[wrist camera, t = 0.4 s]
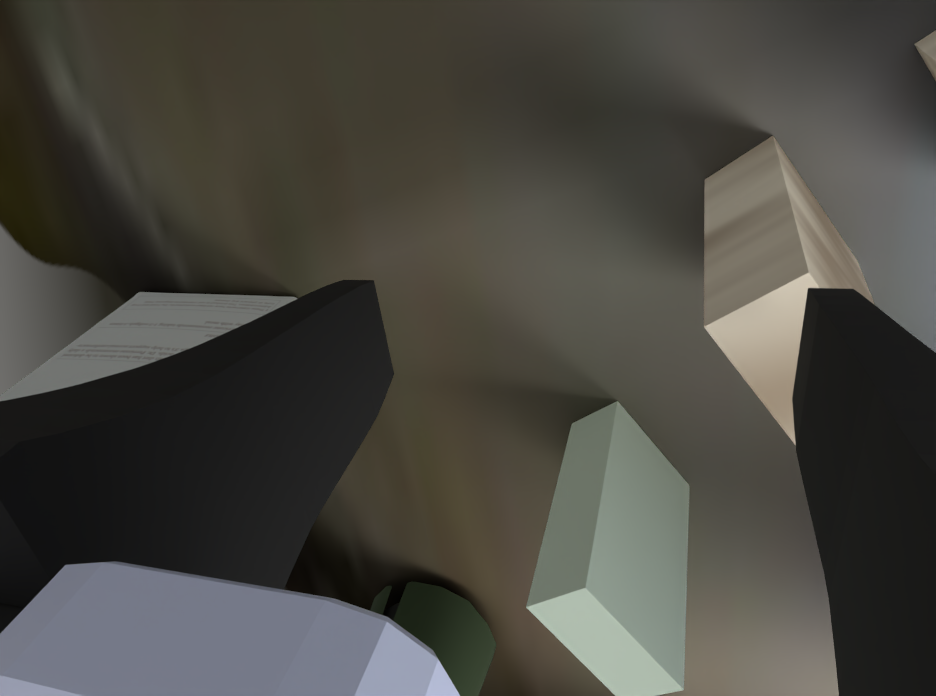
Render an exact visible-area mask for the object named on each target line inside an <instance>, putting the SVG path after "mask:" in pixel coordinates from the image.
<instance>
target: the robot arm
mask: <svg viewBox="0 0 936 696" xmlns="http://www.w3.org/2000/svg"><path fill="white" fill-rule="evenodd" d="M393 375H394V372H393V367H392V363H391V358H390V353H389V349H388V344H387V340H386V335H385V330H384V326H383V321H382V316H381V312H380V307H379V302H378V298H377V293H376V288H375V284H374V280H342V281H339V282H336V283H333V284H330V285H327V286H325V287H322V288H320V289H318V290H316V291H313V292H311V293H309V294H307V295H305V296H302V297H300V298H298V299H296V300H294V301H292V302H290V303H288V304H286V305H284V306H282V307H280V308H278V309H276V310H273V311H271V312H269V313H267V314H265V315H263V316H261V317H259V318H257V319H255V320H253V321H251V322H249V323H246V324H244V325H242V326H240V327H238V328H235V329H233V330H231V331H229V332H226V333H224V334H222V335H220V336H218V337H215V338H213V339H211V340H209V341H206V342H204V343H202V344H200V345H197V346H195V347H192V348H190V349H187V350H185V351H182V352H179V353H177V354H174V355H172V356H169V357H166V358H163V359H160V360H158V361H155V362H152V363H149V364H146V365H143V366H140V367H137V368H134V369H131V370H127V371H124V372H120V373H117V374H113V375H110V376H106V377H103V378H99V379H96V380H92V381H89V382H85V383H82V384H78V385H74V386H70V387H66V388H62V389H57V390H53V391H49V392H44V393H40V394H35V395H30V396H25V397H20V398H15V399H10V400H5V401H0V696H460V695H459V693H458V691H457V690H456V688H455V686H454V685H453V683H452V681H451V680H450V678H449V676H448V675H447V673H446V671H445V670H444V668H443V666H442V664H441V663H440V661H439V659H438V658H437V656H436V654H435V653H434V651H433V650H432V649H431V648H429V647H428V646H427V645H425V644H424V643H423V642H421V641H420V640H418V639H417V638H416V637H414V636H413V635H412V634H410V633H409V632H408V631H406V630H405V629H403V628H402V627H401V626H399V625H398V624H397V623H395V622H394V621H393V620H391V619H390V618H388V617H386V616H383V615H381V614H378V613H375V612H372V611H369V610H366V609H363V608H360V607H357V606H354V605H352V604H349V603H346V602H343V601H340V600H337V599H334V598H329V597H323V596H317V595H311V594H305V593H299V592H293V591H288V590H284V588H285V585H286V583H287V580H288V578H289V576H290V573H291V571H292V569H293V567H294V565H295V562H296V560H297V558H298V556H299V554H300V551H301V549H302V547H303V545H304V543H305V541H306V538H307V536H308V534H309V532H310V530H311V528H312V526H313V524H314V522H315V520H316V518H317V517H318V515H319V513H320V511H321V509H322V507H323V506H324V504H325V502H326V501H327V499H328V498H329V496H330V494H331V493H332V491H333V489H334V488H335V486H336V484H337V483H338V481H339V479H340V478H341V476H342V474H343V473H344V471H345V470H346V468H347V466H348V465H349V463H350V461H351V460H352V458H353V456H354V455H355V453H356V451H357V450H358V448H359V446H360V445H361V443H362V441H363V440H364V438H365V436H366V435H367V433H368V431H369V430H370V428H371V426H372V424H373V423H374V421H375V419H376V417H377V415H378V413H379V410H380V408H381V406H382V403H383V401H384V399H385V396H386V394H387V391H388V388H389V386H390V383H391V380H392V378H393ZM792 403H793V417H794V431H795V442H796V452H797V457H798V461H799V466H800V470H801V475H802V479H803V484H804V488H805V492H806V497H807V501H808V505H809V510H810V514H811V518H812V522H813V527H814V531H815V535H816V539H817V544H818V548H819V552H820V557H821V561H822V565H823V569H824V574H825V580H826V586H827V591H828V597H829V604H830V613H831V622H832V631H833V640H834V649H835V658H836V668H837V678H838V689H839V696H936V353H935V352H934V351H932V350H931V349H930V348H928V347H927V346H926V345H924V344H923V343H922V342H920V341H919V340H918V339H917V338H915V337H914V336H913V335H911V334H910V333H909V332H908V331H906V330H905V329H904V328H902V327H901V326H900V325H899V324H897V323H896V322H895V321H894V320H893V319H891V318H890V317H889V316H888V315H886V314H885V313H884V312H883V311H881V310H880V309H879V308H878V307H877V306H875V305H874V304H873V303H872V302H870V301H869V300H868V299H867V298H865V297H864V296H863V295H861V294H860V293H859V292H857V291H856V290H854V289H841V288H808V291H807V298H806V305H805V312H804V319H803V326H802V333H801V340H800V347H799V354H798V361H797V368H796V375H795V382H794V389H793V396H792Z"/></svg>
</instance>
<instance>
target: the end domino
mask: <svg viewBox="0 0 936 696" xmlns="http://www.w3.org/2000/svg"><path fill="white" fill-rule="evenodd" d="M689 488H690V485H689V484H688V483H687V482H686V481H685V480H684V478H683V477H682V476H681V475H680V474H679V473H678V471H677V470H676V469H675V468H674V467H673V465H672V464H671V463H670V462H669V461H668V460H667V458H666V457H665V456H664V455H663V454H662V453H661V451H660V450H659V449H658V448H657V447H656V445H655V444H654V443H653V442H652V441H651V440H650V438H649V437H648V436H647V435H646V434H645V433H644V431H643V430H642V429H641V428H640V427H639V425H638V424H637V423H636V422H635V421H634V420H633V418H632V417H631V416H630V415H629V414H628V413H627V411H626V410H625V409H624V408H623V407H622V405H621V404H620V403H619V402H618V401H616V402H614V403H612V404H610V405H608V406H606V407H604V408H602V409H600V410H598V411H596V412H594V413H592V414H590V415H588V416H586V417H584V418H582V419H580V420H578V421H576V422H574V423H572V425H571V429H570V433H569V437H568V441H567V445H566V449H565V453H564V457H563V461H562V465H561V469H560V473H559V477H558V481H557V485H556V489H555V493H554V497H553V501H552V505H551V509H550V513H549V517H548V521H547V525H546V529H545V533H544V537H543V541H542V545H541V549H540V553H539V557H538V561H537V565H536V569H535V574H534V578H533V582H532V586H531V590H530V594H529V598H528V602H527V606H526V608H527V609H528V610H529V611H530V612H531V613H532V614H533V615H534V616H535V617H536V618H537V619H539V620H540V621H541V622H542V623H543V624H544V625H545V626H546V627H547V628H548V629H549V630H550V631H551V632H552V633H553V634H554V635H555V636H556V637H557V638H558V639H559V640H560V641H561V642H562V643H563V644H564V645H565V646H566V647H567V648H568V649H569V650H570V651H571V652H572V653H573V654H574V655H575V656H576V657H577V658H578V659H579V660H580V661H581V662H582V663H583V664H584V665H585V666H586V667H587V668H588V669H589V670H590V671H591V672H592V673H593V674H594V675H595V676H596V677H597V678H598V679H599V680H600V681H601V682H602V683H603V684H604V685H605V686H606V687H607V688H608V689H609V690H610V691H611V692H612V693H613V694H614V695H615V696H657V695H662V694H667V693H671V692H676V691H681V690H684V664H685V629H686V594H687V558H688V523H689Z"/></svg>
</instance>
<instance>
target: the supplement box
mask: <svg viewBox="0 0 936 696" xmlns="http://www.w3.org/2000/svg"><path fill="white" fill-rule="evenodd" d="M296 299H298V298H296V297H287V296H256V295H221V294H188V293H155V292H138V293H137V294H136V295H135V296H134V297H133V298H131V299H130V300H129V301H127V302H126V303H125V304H123V305H122V306H121V307H119V308H118V309H116V310H115V311H114V312H112V313H111V314H109V315H108V316H107V317H105V318H104V319H103V320H101V321H100V322H98V323H97V324H96V325H95V326H93V327H92V328H91V329H89V330H88V331H87V332H85V333H84V334H83V335H81V336H80V337H78V338H77V339H76V340H74V341H73V342H72V343H71V344H69V345H68V346H66V347H65V348H64V349H62V350H61V351H59V352H58V353H57V354H55V355H54V356H53V357H51V358H50V359H49V360H47V361H46V362H45V363H43V364H42V365H41V366H40V367H38V368H37V369H36V370H34V371H33V372H31V373H30V374H29V375H27V376H26V377H24V378H23V379H21V380H20V381H19V382H18V383H16V384H15V385H13V386H12V387H11V388H9V389H8V390H7V391H6V392H4V393H3V394H2V395H0V401H5V400H10V399H15V398H20V397H25V396H30V395H35V394H40V393H44V392H49V391H53V390H57V389H62V388H66V387H70V386H74V385H78V384H82V383H85V382H89V381H92V380H96V379H99V378H103V377H106V376H110V375H113V374H117V373H120V372H124V371H127V370H131V369H134V368H137V367H140V366H143V365H146V364H149V363H152V362H155V361H158V360H160V359H163V358H166V357H169V356H172V355H174V354H177V353H179V352H182V351H185V350H187V349H190V348H192V347H195V346H197V345H200V344H202V343H204V342H206V341H209V340H211V339H213V338H215V337H218V336H220V335H222V334H224V333H226V332H229V331H231V330H233V329H235V328H238V327H240V326H242V325H244V324H246V323H249V322H251V321H253V320H255V319H257V318H259V317H261V316H263V315H265V314H267V313H269V312H271V311H273V310H276V309H278V308H280V307H282V306H284V305H286V304H288V303H290V302H292V301H294V300H296Z"/></svg>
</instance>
